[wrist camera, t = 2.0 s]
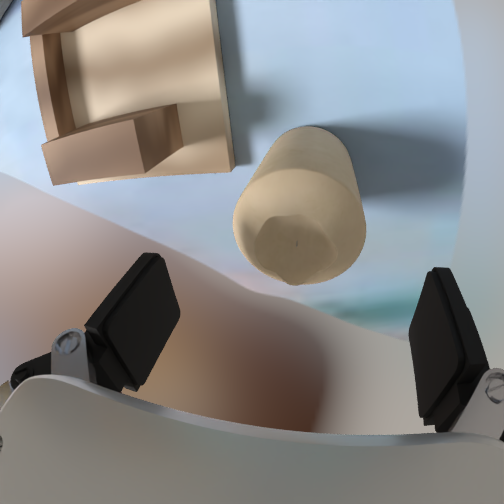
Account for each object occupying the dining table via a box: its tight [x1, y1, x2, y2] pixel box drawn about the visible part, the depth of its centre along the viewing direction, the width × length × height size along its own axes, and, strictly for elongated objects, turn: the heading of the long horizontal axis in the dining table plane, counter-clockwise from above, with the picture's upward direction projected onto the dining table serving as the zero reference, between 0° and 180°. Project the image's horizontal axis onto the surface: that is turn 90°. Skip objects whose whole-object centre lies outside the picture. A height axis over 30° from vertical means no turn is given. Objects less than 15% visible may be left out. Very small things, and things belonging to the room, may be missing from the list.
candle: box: [233, 126, 366, 286], centre depth 15 cm, size 6×6×10 cm
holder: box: [21, 0, 235, 186], centre depth 14 cm, size 18×14×6 cm
